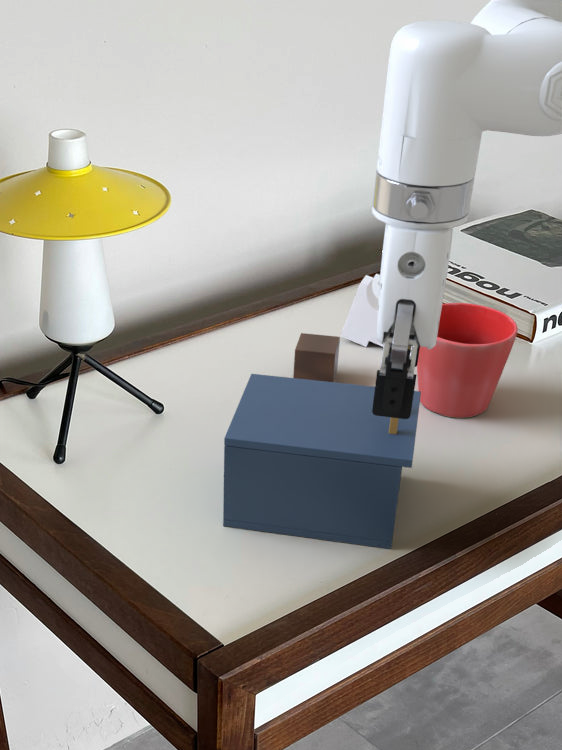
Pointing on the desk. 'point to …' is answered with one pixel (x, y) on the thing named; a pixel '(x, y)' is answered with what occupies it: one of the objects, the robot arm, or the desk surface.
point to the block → (316, 357)
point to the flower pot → (465, 359)
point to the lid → (321, 421)
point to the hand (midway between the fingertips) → (395, 389)
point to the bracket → (364, 313)
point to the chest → (310, 496)
